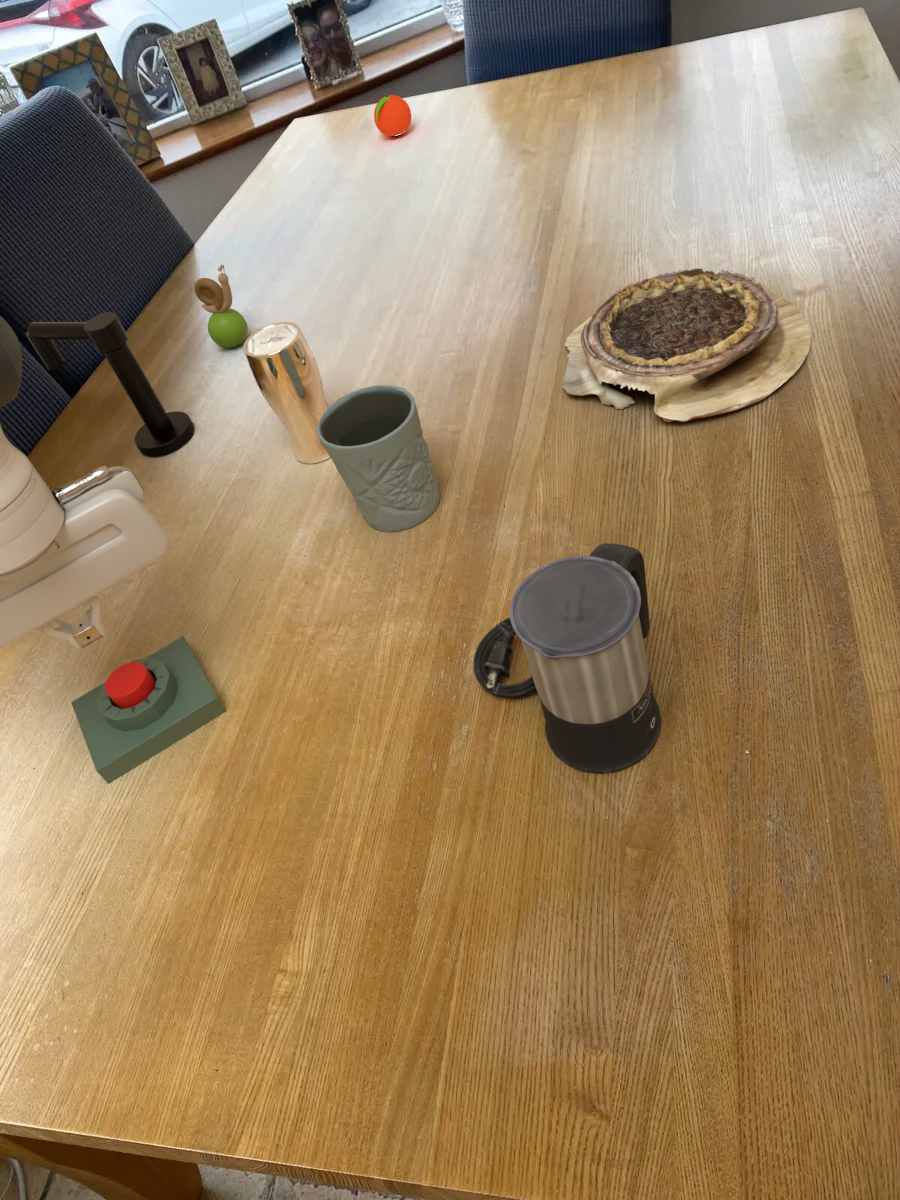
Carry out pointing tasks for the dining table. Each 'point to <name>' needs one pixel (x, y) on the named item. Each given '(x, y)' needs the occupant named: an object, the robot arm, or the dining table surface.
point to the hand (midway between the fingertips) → (91, 638)
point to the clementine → (392, 115)
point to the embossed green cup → (382, 456)
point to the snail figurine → (221, 311)
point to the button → (129, 684)
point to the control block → (148, 712)
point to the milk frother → (582, 657)
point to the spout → (76, 336)
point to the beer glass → (290, 385)
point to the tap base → (150, 408)
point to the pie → (688, 344)
